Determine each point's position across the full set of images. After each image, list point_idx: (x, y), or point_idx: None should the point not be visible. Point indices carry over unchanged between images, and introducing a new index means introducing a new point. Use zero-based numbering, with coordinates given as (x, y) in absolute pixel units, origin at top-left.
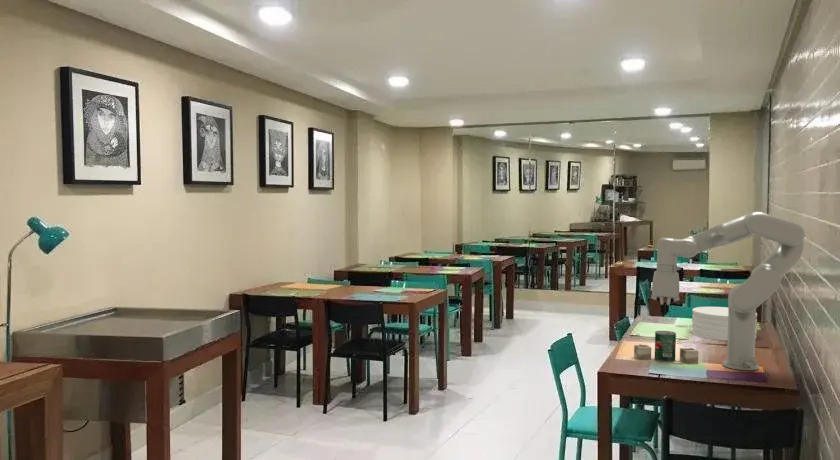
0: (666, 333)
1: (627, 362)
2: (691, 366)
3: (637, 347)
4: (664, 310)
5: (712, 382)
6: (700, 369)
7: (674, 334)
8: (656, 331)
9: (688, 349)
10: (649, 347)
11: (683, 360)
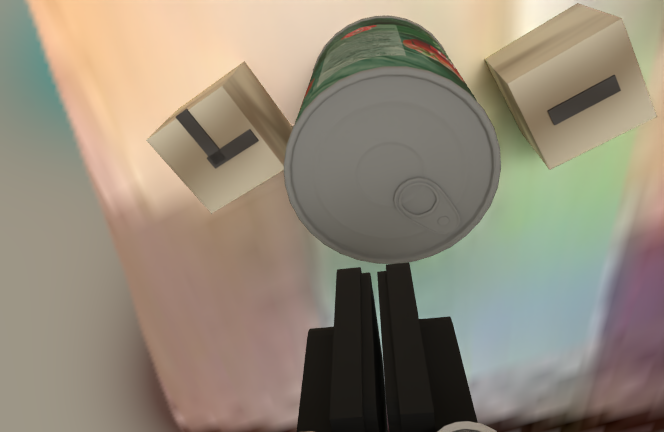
0: (401, 198)
1: (197, 260)
2: (548, 195)
3: (191, 186)
4: (386, 421)
5: (602, 418)
6: (592, 240)
7: (481, 217)
8: (292, 152)
9: (575, 113)
10: (272, 175)
11: (510, 108)
